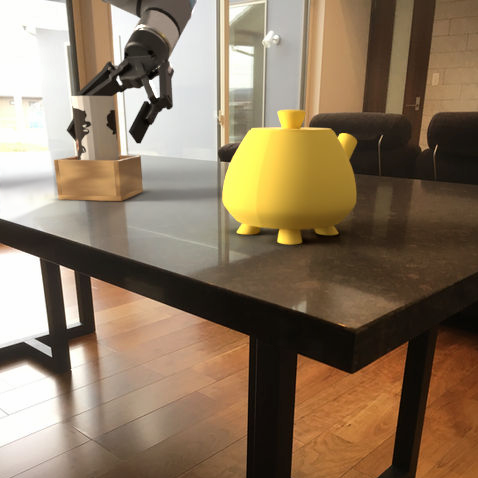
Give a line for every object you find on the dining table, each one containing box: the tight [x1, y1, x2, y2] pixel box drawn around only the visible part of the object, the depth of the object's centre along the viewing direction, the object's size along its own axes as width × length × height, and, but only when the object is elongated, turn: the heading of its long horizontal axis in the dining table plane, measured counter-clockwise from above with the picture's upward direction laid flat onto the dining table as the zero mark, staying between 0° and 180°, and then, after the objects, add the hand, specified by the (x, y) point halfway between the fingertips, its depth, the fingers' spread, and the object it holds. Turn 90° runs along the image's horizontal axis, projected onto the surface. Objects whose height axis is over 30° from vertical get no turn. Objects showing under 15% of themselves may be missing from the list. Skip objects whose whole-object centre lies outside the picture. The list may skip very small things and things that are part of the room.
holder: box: [53, 154, 144, 202], centre depth 89 cm, size 11×11×6 cm
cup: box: [70, 95, 120, 161], centre depth 87 cm, size 7×7×15 cm
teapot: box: [222, 109, 358, 245], centre depth 61 cm, size 20×16×14 cm
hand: (102, 136), depth 87 cm, fingers open, 13 cm apart
